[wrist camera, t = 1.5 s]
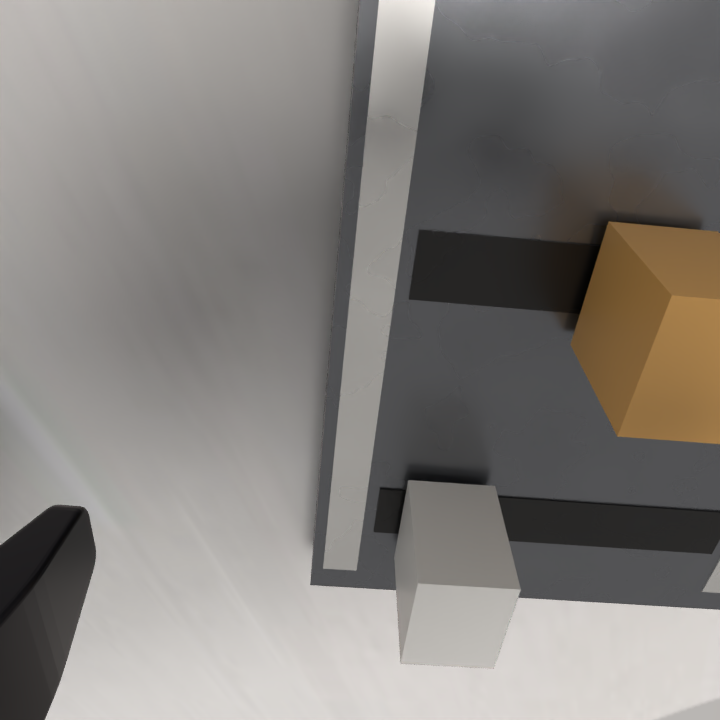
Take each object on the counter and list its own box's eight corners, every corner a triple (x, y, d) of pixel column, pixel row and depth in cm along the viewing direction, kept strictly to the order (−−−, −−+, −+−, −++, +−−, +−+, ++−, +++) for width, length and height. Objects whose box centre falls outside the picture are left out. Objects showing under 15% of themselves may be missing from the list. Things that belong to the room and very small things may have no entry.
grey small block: (474, 562, 23) (493, 668, 20) (394, 557, 23) (400, 663, 20) (495, 485, 22) (520, 589, 18) (408, 480, 21) (417, 583, 18)
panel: (709, 567, 27) (733, 611, 25) (313, 542, 26) (310, 586, 25) (1203, -321, 13) (1330, -359, 12) (395, -437, 12) (402, -497, 11)
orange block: (668, 352, 19) (736, 445, 15) (570, 344, 19) (617, 436, 15) (717, 231, 17) (807, 307, 14) (608, 221, 17) (672, 295, 13)
